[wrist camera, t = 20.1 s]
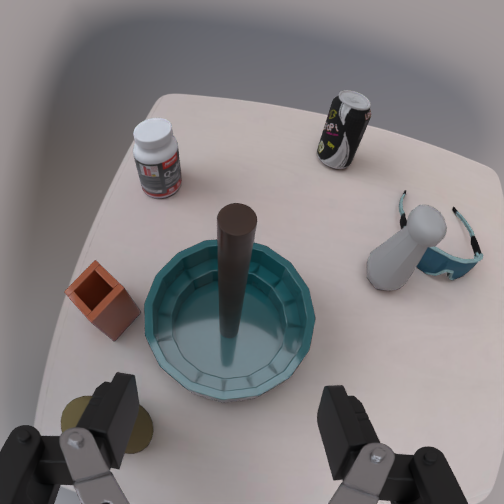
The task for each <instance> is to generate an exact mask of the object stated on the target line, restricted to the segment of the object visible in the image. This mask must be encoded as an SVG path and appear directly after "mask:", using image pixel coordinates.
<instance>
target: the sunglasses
mask: <svg viewBox="0 0 504 504" xmlns="http://www.w3.org/2000/svg"><path fill="white" fill-rule="evenodd" d="M405 194H406V190H405V191H404V193H403V196H402V197H401V200H400V203H399V212H400V215H401V219H400V226H401V229H403V228H404V227H405V226H407V220H406V217H405V213H404V211H403V204H402V202H403V198H404V196H405ZM453 211H454V213H455V214H456V215H457V216H458V217H459V218H460V220H461V221H462V222H463V224H464V225H465V227H466V228H467V230H468V231H469V234H470V237H471V245H472V248H473V251H474V254H475V255H474V259H462V258H458V257H454V256H452V255H450V254H448V253H446V252H444V251H442V250H440V249H439V248H437V247H435V246H434V247H428V248H427V249H426V251H425V253H424V255H423V256H422V258H421V260H420V261H419V263H418V265H417V266H416V267H417V268H418V269H420V270H421V271H423V272H424V273H425V274H429V275H434V276H437V275H440V274H442V273H445V272H448V273H447V276H448V275H449V279H450V280H455V279H457V278H459V277H462V276H463V275H465V274H466V273H467V272H468V271H469V270H471V269H472V268H473V267H474V266H475V265H476V264H477V262H478V261H480V260H482V258H483V254H482V253H481V250H480V247H479V244H478V242H477V240H476V238H475V235H474V232H473V230H472V229H471V227H470V226H469V224H468V223H467V221H466V220H465V219H464V218H463V216H462V215H461V214H460V213H459V212H458V211H457V210H456V208H455V207H453Z"/></svg>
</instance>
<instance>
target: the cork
mask: <svg viewBox="0 0 504 504" xmlns="http://www.w3.org/2000/svg"><path fill="white" fill-rule="evenodd" d="M91 398H92V396H82V397H79V398H76V399H73V400H72V401H71V402H70V403H69V404H67V405H66V407H65V409H64V411H63V413H62V417H61V429H62V433H63V432H64V431H65V430H67V429H69V428H73V427H76V425H77V423H78V421H79V419H80V418H81V416H82V414H83V412H84V410H85V408H86V406H87V405H88V404H89V401H90V399H91ZM152 435H153V424H152V420H151V418H150V416H149V414H148V413H147V411H146V410H145V409H144V408H143V407H142V406H140V405H139V411H138V415H137V418H136V421H135V424H134V427H133V430H132V433H131V436H130V438H129V441H128V444H127V447H126V450H125V453H127V454H134V453H137V452H140V451H142V450H143V449H144V448H146V447H147V446H148V444H149V443H150V441H151V439H152Z"/></svg>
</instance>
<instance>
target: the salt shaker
mask: <svg viewBox="0 0 504 504" xmlns="http://www.w3.org/2000/svg"><path fill="white" fill-rule="evenodd" d="M446 230H447V226H446V223H445V219H444V217H443V216H442V214H441V213H440V212H439V211H438V210H437V209H435V208H434V207H431V206H429V205H419V206H417V207H416V208H415V209H413V210H412V211H411V212H410V214H409V216H408V220H407V226H405V227H404V228H403V229H401V230H400V231H399V232H397V233H396V234H395V235H393V236H392V237H391V238H389V239H388V240H387V241H385V242H384V243H383V244H381V245H380V246H379V247H377V248H376V249H375V250H373V251H372V252H371V253H370V256H369V258H368V261H367V270H368V274H367V278H368V280H369V281H370V282H371V283H372V285H373V286H374V287H375V288H376V289H381V290H389V291H391V290H397V289H400V288H401V287H402V286H403V285H404V284H405V283H406V282H407V281H408V279H409V278H410V276H411V275H412V273H413V271H414V270H415V268H416V266H417V265H418V263H419V261H420V260H421V258H422V256H423V255H424V253H425V251H426V249H427V248H428V247H434V246H436V245H437V244H438V243H439V242H440V241H441V240H442V239H443V238H444V236H445V235H446Z"/></svg>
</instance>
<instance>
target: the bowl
mask: <svg viewBox="0 0 504 504" xmlns="http://www.w3.org/2000/svg"><path fill="white" fill-rule="evenodd" d="M144 314H145V336H146V339H147V341H148V343H149V345H150V347H151V349H152V351H153V353H154V355H155V357H156V359H157V362H158V364H159V366H160V367H161V368H162V369H163V370H165V371H166V372H167V373H168V374H169V375H170V376H172V377H173V378H174V379H175V380H176V381H177V382H179V383H180V384H181V385H182V386H184V387H185V388H186V389H187V390H188V391H190V392H191V393H193V394H195V395H198V396H201V397H205V398H208V399H211V400H215V401H218V402H223V403H225V402H234V401H243V400H251V399H255V398H257V397H258V396H260V395H262V394H264V393H265V392H267V391H269V390H270V389H272V388H274V387H276V386H277V385H279V384H281V383H282V382H284V381H285V380H287V379H288V378H289V377H291V375H292V374H293V373H294V371H295V370H296V368H297V367H298V366H299V364H300V363H301V361H302V360H303V358H304V357H305V356H306V354H307V353H308V351H309V349H310V344H311V339H312V334H313V329H314V324H315V314H314V309H313V305H312V300H311V296H310V291H309V288H308V287H307V285H306V284H305V282H304V281H303V279H302V278H301V276H300V275H299V274H298V272H297V271H296V269H295V268H294V266H293V265H292V264H291V262H289V261H288V260H286V259H285V258H283V257H282V256H280V255H279V254H277V253H276V252H274V251H273V250H272V249H270V248H269V247H267V246H265V245H261V244H257V243H253V249H252V255H251V260H250V266H249V272H248V278H247V284H246V290H245V296H244V301H243V307H242V313H241V319H240V325H239V331H238V334H237V335H236V336H235V337H233V338H226V337H224V336H222V334H221V333H220V325H219V293H218V246H217V239H216V240H206V241H203V242H201V243H198V244H196V245H194V246H192V247H190V248H187V249H185V250H183V251H181V252H179V253H177V254H176V255H175V256H174V257H173V258H172V259H171V260H170V261H169V262H168V263H167V264H166V265H165V266H164V267H163V268H162V269H161V270H160V271H159V273H158V274H157V275H156V276H155V279H154V281H153V284H152V286H151V289H150V291H149V293H148V296H147V298H146V301H145V304H144Z"/></svg>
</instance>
